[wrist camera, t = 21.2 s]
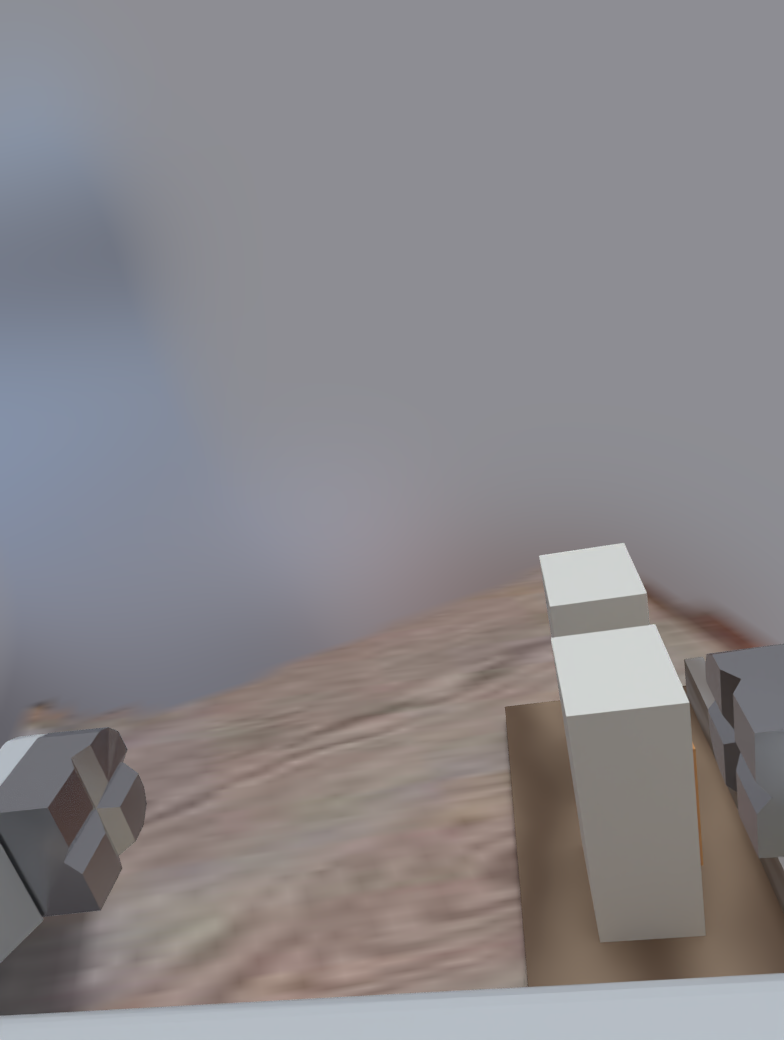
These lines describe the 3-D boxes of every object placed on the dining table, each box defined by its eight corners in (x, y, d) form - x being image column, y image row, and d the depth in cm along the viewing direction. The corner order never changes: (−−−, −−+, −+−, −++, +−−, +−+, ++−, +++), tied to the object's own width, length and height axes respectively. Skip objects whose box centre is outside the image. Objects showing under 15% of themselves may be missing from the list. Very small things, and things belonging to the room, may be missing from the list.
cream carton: (600, 942, 37) (566, 716, 31) (582, 844, 42) (550, 637, 37) (711, 935, 36) (695, 702, 30) (678, 836, 41) (660, 623, 36)
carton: (579, 804, 45) (549, 606, 39) (566, 737, 50) (539, 555, 45) (669, 796, 44) (651, 592, 38) (646, 729, 49) (628, 542, 44)
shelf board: (538, 1074, 33) (524, 1009, 31) (508, 722, 55) (498, 673, 53) (875, 1062, 31) (880, 992, 29) (704, 700, 53) (701, 648, 51)
